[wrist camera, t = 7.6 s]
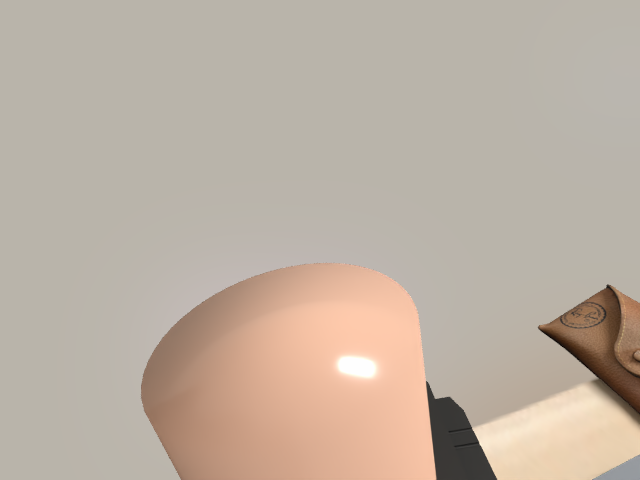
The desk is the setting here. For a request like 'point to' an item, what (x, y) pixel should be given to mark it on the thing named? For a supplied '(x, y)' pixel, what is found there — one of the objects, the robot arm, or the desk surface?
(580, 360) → the sunglasses case
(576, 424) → the desk surface
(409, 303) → the glossy peach cylinder
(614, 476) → the platform
